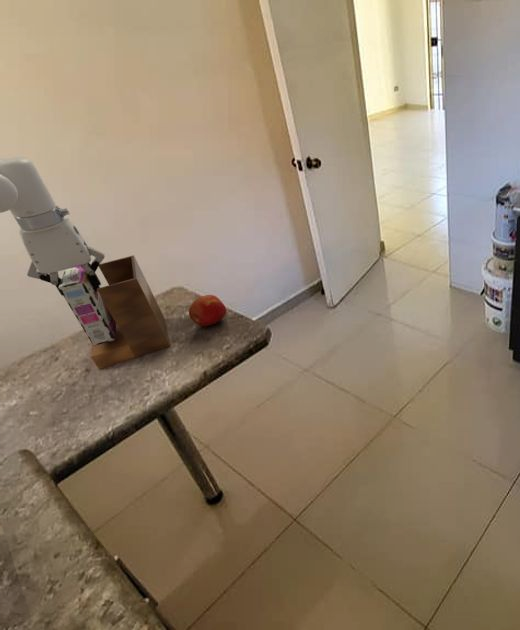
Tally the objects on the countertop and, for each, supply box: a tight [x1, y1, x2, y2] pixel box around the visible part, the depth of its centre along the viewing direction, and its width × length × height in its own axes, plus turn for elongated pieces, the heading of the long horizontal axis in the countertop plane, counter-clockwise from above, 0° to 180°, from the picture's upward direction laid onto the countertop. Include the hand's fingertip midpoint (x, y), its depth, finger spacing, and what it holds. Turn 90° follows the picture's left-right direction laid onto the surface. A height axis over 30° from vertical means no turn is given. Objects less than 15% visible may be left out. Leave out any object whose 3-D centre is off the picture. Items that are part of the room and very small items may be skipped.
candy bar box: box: [58, 266, 116, 346], centre depth 104 cm, size 11×5×16 cm, turn 29°
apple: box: [188, 294, 227, 327], centre depth 117 cm, size 8×8×8 cm
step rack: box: [90, 255, 171, 370], centre depth 108 cm, size 16×15×20 cm
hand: (83, 291), depth 102 cm, fingers closed on candy bar box, 5 cm apart
